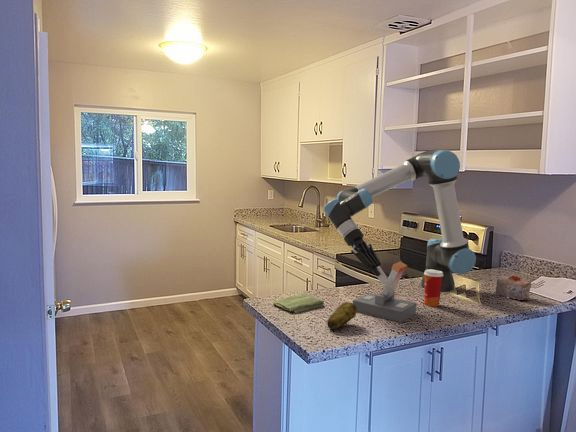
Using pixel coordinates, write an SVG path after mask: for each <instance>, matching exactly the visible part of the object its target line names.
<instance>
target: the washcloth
mask: <svg viewBox="0 0 576 432" xmlns="http://www.w3.org/2000/svg"><path fill="white" fill-rule="evenodd" d="M324 304H325V303H324V300H322V299H320V298H317V297H314V296H311V295H309V294H307V293H305V292H303V293H299V294H296V295H295V294H294V295H292V296H288V297H284V298H279V299H277V300H275V301H274V302H273V303H272V305H274V306H275V305H276V307H277V306H279V307H278V308H280V307H281V308H280V309H283V310H285V311H289V312H291V311H292V313H293V312H294V313H293V314H300V313H302V312H306V311H308V310H313V309H317V308H320V307H323V306H324Z"/></svg>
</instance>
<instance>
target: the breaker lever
mask: <svg viewBox="0 0 576 432" xmlns="http://www.w3.org/2000/svg"><path fill="white" fill-rule="evenodd" d="M407 268H408V265H407V264H406V263H404V262H402V261H397V262H396V263H393V264H392V266H391V271H390V273H389V275H388V276H387V278H388V279H387V281H386V283H385V284H384V286H383V288H382V290H381V292H380V294H379V295H383V296H384V302H385V301H387V300H389V299H391V297H392V295H393V292H394V291H396V288H397V286H398V284H399V282H400V280H401V278H402V276H403V274H404V271H406V270H407ZM394 293H395V292H394Z"/></svg>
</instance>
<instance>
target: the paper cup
mask: <svg viewBox="0 0 576 432" xmlns="http://www.w3.org/2000/svg"><path fill="white" fill-rule="evenodd" d="M424 274H425V288H424V293H423V294H424V297H423V299H424V305H425V306H427V307H433V308H435V307H439V305H440V299H441V292H442V291H441V285H442V277H443V276H444V275H443V272H442V271H439V270H432V269H429V270H426V269H424V272H423V275H424Z"/></svg>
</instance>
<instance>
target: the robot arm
mask: <svg viewBox="0 0 576 432" xmlns="http://www.w3.org/2000/svg"><path fill="white" fill-rule="evenodd" d="M460 169H461V162H460V159H459V157H458V156H457V154H455V153H454V152H453V151H450V150H448V149H435V150H426V151H422V152H420V153H419V154H417V155H414V156H412V157H410V158H409V159H406V160H404V161H403V163H402V164H401V165H399V166H397V167H395V168H391V169H390V170H388V171H386V172H384V173H382V174H379V175H377V176H374V177H373V178H371V179H369V180H366V181H364V182H363V183H359V184H358V185H355V186H354V187H350V188H349V189H343V190H341V191H339V192H338V194H337V195H336V198H334V199H332V200H330V201H328V202H327V203H326V204H325V205H324V207H323V212H324V213H325V215H326V217H327V219H328V220H329V221H330V222H331V224H332V226H333V227H334V228H335V229H336V231H337V232H338V233H339V235H340V236H341V237H342V238H343V241H344V242H345V243H346V245H347V247H351V248H352V249H351V250H350V252H351V253H352V254H353V255H354V256H355V257H356V258H357V259H358V260H359V261H360V262H361V264H362V265H363V266H364V267H365V268H366V269H367V270H368V271H369V272H373V273H374V275H375V276H376V278H377V279H378V281H379V282H380V283H381V284H382V285H385V283H386V281H387V279H388V276H387V274H386V273H385V272H384V270H383V269H382V268H381V265H382V264H381V263H382V262H381V261H380V259H379V258H378V256H377V253H376V252H375V250H374V248H373V246H372V244H371V243H369V244H368V243H367V242H366V241H365V240H364V239H363V238H364V235H365V234H364V233H363V232H362V231H361V229H360V228H359V227H358V225H357V224H356V222H355V221H354V220H353V218H352V217H353V216H355V215H357V214H358V213H360V212H362V211H363V210H364V209H367V208H368V207H370V206H371V205H372V204H373V203H374V197H375V196H378V195H380V194H382V193H385V192H387V191H388V190H391V189H393V188H395V187H397V186H400V185H402V184H404V183H406V182H408V181H412V182H413V181H416V180H418V179H421V178H427V181H428V185H429V186H430V187H432V188H433V194H434V200H435V204H436V205H435V206H436V210H437V216H438V222H439V228H440V233H441V237H442V238H430V239H429V240H428V241H427V244H426V245H427V246H426V261H425V270H429V269H432V270H439V271H442V272H443V275H444V276H443V277H442V285H441V292H451V291H454V290H455V286H456V284H455V280H454V277H453V274H458V275H465V274H468V273H469V272H471V271H472V270H473V267H475V265H476V262H477V256H476V254H475V252H474V251H473V250H472V249H470V245H469V241H468V239H466V238H465V237H464V234H463V233H464V232H463V228H462V227H463V226H462V221H461V216H460V215H461V214H460V210H459V205H458V198H457V193H456V187H455V183H456V182H457V180H458V177H457V175H458V174H459V171H460ZM420 286H421V287H422V288H424V289H425V274H424V273H423V275H422V278H421V281H420Z"/></svg>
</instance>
